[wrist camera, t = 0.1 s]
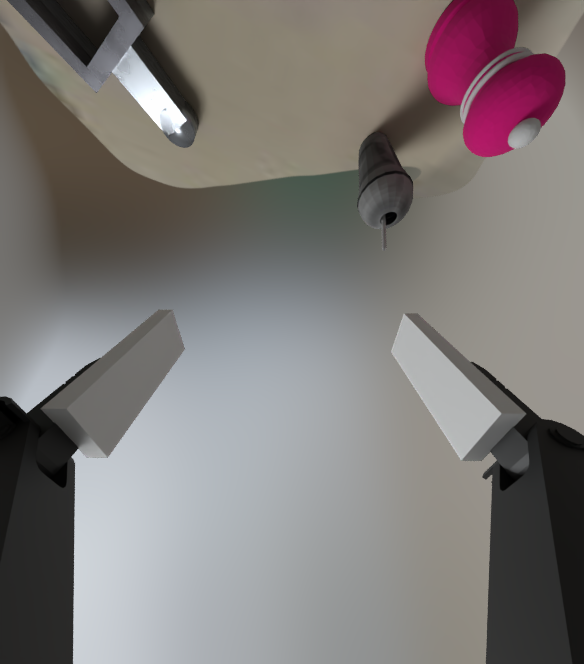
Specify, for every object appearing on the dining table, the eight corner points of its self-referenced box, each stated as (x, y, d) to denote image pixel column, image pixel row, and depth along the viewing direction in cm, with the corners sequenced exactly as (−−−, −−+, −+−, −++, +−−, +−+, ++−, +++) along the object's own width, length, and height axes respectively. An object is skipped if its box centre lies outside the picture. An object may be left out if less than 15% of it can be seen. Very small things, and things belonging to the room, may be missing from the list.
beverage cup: (403, 155, 35) (431, 249, 27) (359, 182, 39) (374, 271, 31) (391, 106, 29) (423, 207, 22) (342, 144, 34) (355, 240, 26)
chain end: (-23, -69, 19) (-43, -62, 18) (11, -212, 15) (-13, -214, 14) (173, 151, 35) (169, 162, 34) (218, 114, 30) (215, 125, 29)
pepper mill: (406, 64, 26) (450, 166, 18) (471, -47, 20) (579, 39, 12) (445, 96, 28) (498, 198, 21) (514, 7, 22) (625, 106, 15)
